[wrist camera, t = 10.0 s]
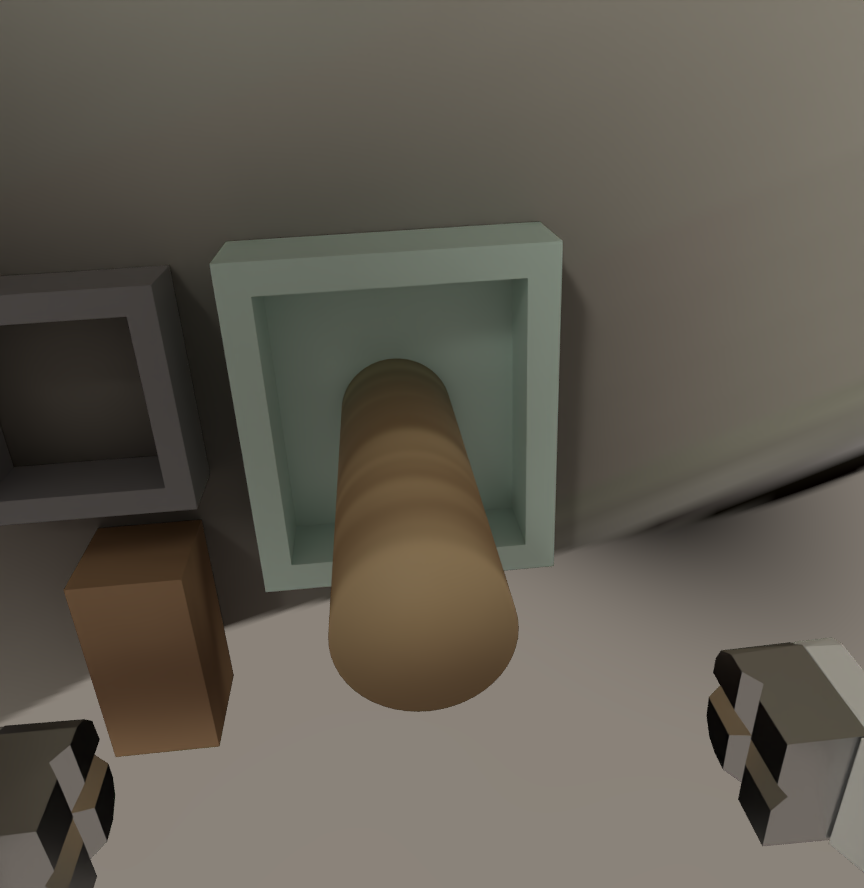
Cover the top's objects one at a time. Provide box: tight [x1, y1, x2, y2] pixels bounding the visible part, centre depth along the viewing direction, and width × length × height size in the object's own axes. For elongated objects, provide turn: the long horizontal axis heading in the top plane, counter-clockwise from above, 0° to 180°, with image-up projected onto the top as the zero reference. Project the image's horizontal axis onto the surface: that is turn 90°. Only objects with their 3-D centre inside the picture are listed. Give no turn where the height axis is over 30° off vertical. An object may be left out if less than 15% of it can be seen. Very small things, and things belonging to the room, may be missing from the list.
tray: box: [209, 222, 563, 592], centre depth 21 cm, size 9×8×2 cm
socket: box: [0, 265, 210, 526], centre depth 20 cm, size 6×6×2 cm
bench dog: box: [64, 520, 234, 757], centre depth 23 cm, size 6×3×3 cm, turn 3°
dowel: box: [328, 358, 519, 712], centre depth 17 cm, size 3×3×10 cm
